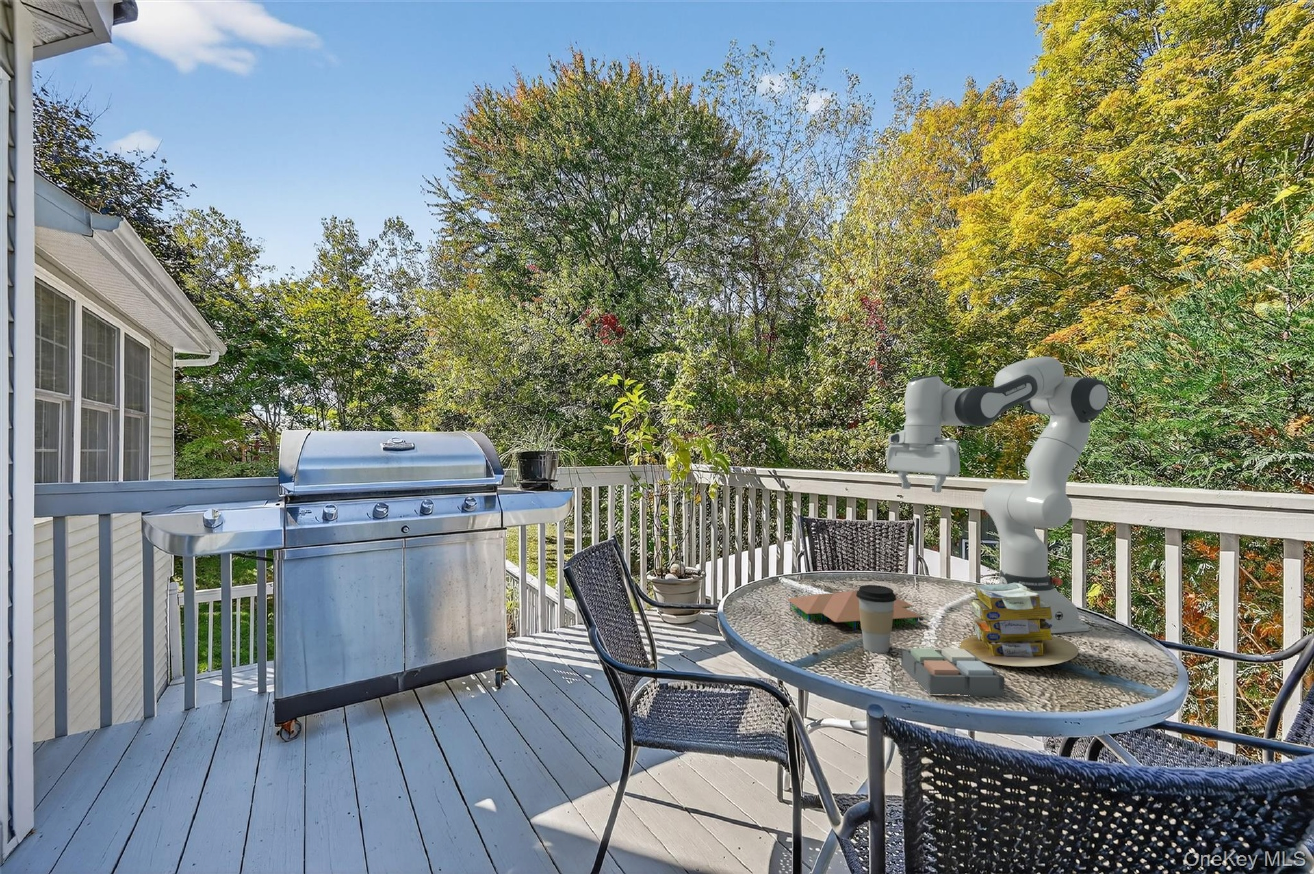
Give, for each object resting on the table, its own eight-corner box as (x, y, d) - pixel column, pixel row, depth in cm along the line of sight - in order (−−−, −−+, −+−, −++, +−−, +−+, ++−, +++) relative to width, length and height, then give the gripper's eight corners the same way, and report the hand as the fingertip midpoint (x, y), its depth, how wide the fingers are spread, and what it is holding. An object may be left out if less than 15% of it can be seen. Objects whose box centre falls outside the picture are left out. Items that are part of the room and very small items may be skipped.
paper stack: (955, 662, 138) (956, 591, 137) (961, 631, 159) (961, 570, 159) (1084, 685, 125) (1085, 607, 125) (1071, 648, 147) (1072, 581, 146)
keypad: (967, 667, 134) (967, 649, 134) (1004, 696, 119) (1004, 677, 119) (901, 666, 135) (901, 649, 135) (930, 696, 120) (930, 676, 120)
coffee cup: (895, 644, 149) (895, 585, 149) (897, 658, 140) (897, 595, 140) (855, 640, 152) (856, 582, 152) (855, 653, 143) (856, 592, 143)
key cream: (963, 657, 133) (963, 648, 133) (975, 666, 128) (975, 657, 128) (941, 657, 133) (941, 648, 133) (952, 666, 128) (952, 657, 128)
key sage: (932, 657, 133) (932, 648, 133) (942, 666, 128) (942, 657, 128) (910, 657, 133) (910, 648, 133) (919, 665, 128) (919, 656, 128)
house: (930, 627, 163) (930, 598, 163) (819, 634, 157) (819, 604, 157) (884, 604, 185) (884, 578, 185) (786, 609, 180) (786, 583, 180)
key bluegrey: (980, 670, 126) (980, 660, 126) (992, 679, 121) (992, 670, 121) (956, 669, 126) (956, 660, 126) (968, 679, 121) (968, 670, 121)
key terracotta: (947, 669, 126) (947, 660, 126) (958, 679, 121) (958, 670, 121) (923, 669, 126) (923, 660, 126) (934, 679, 121) (934, 669, 121)
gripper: (966, 438, 144) (965, 494, 144) (899, 437, 162) (898, 486, 163) (949, 437, 141) (947, 494, 141) (883, 436, 160) (881, 487, 160)
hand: (920, 490), depth 152 cm, fingers open, 8 cm apart
